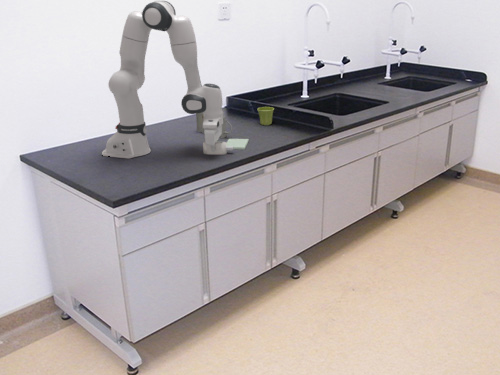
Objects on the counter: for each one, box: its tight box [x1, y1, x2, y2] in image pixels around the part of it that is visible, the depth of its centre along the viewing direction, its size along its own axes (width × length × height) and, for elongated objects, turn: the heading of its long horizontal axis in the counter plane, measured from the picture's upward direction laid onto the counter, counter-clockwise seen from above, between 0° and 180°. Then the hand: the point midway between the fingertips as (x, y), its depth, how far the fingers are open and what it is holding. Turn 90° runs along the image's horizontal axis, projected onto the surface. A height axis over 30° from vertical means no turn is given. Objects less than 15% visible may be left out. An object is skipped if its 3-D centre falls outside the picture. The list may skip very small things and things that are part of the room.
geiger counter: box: [195, 110, 233, 139], centre depth 257 cm, size 14×6×25 cm
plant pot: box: [256, 106, 275, 126], centre depth 275 cm, size 9×9×9 cm
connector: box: [202, 141, 234, 156], centre depth 230 cm, size 14×4×5 cm, turn 82°
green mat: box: [226, 138, 250, 151], centre depth 242 cm, size 10×14×1 cm
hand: (214, 149), depth 230 cm, fingers open, 5 cm apart
